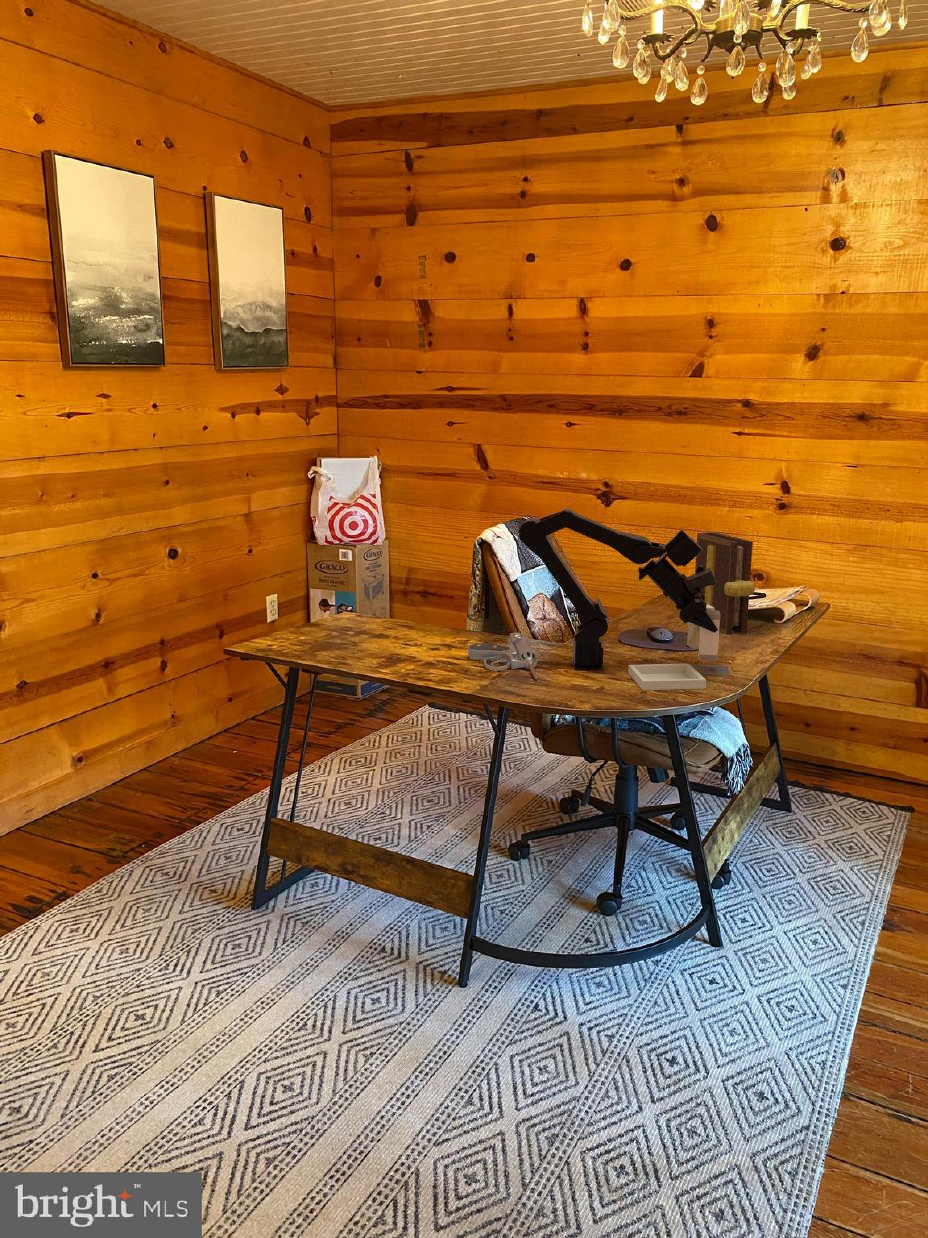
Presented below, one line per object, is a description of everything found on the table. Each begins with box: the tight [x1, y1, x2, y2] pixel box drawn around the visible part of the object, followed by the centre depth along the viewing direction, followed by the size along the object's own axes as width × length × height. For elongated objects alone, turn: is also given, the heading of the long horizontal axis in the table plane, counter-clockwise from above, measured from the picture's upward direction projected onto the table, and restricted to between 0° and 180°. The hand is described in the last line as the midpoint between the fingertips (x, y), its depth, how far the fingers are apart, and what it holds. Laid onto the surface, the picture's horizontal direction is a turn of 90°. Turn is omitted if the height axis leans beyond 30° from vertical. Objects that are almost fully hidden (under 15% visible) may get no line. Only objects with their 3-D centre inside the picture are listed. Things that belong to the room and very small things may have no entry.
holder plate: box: [688, 663, 731, 677], centre depth 224 cm, size 10×8×1 cm
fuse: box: [697, 610, 721, 662], centre depth 222 cm, size 4×4×11 cm
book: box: [694, 531, 756, 636], centre depth 265 cm, size 22×8×25 cm, turn 17°
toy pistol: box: [467, 631, 538, 680], centre depth 230 cm, size 6×28×16 cm
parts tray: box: [627, 663, 707, 691], centre depth 216 cm, size 14×13×2 cm
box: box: [686, 604, 715, 650], centre depth 244 cm, size 5×4×11 cm
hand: (715, 629), depth 222 cm, fingers closed on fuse, 4 cm apart
